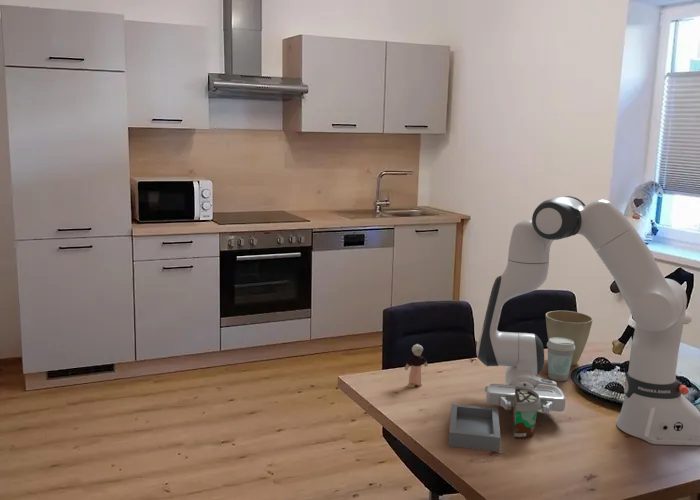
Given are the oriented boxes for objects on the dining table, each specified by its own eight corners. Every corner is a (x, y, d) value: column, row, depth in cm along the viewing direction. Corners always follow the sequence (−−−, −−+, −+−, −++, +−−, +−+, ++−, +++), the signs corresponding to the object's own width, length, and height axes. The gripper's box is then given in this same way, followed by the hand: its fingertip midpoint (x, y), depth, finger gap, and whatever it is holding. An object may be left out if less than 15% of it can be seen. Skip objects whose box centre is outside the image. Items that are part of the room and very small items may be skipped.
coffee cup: (542, 379, 211) (545, 342, 209) (545, 371, 219) (548, 335, 217) (571, 384, 208) (574, 346, 206) (573, 375, 216) (577, 339, 214)
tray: (496, 420, 179) (497, 408, 179) (499, 451, 162) (500, 437, 161) (450, 416, 181) (451, 403, 181) (448, 446, 164) (449, 432, 163)
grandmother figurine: (411, 389, 199) (413, 348, 197) (402, 385, 202) (404, 344, 200) (429, 384, 204) (431, 343, 202) (420, 380, 207) (422, 340, 205)
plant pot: (541, 353, 237) (545, 308, 234) (586, 358, 233) (591, 313, 231) (541, 366, 223) (545, 319, 220) (589, 372, 219) (594, 324, 216)
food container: (540, 444, 166) (543, 405, 164) (514, 441, 167) (517, 403, 166) (536, 424, 178) (539, 387, 176) (512, 421, 179) (515, 385, 178)
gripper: (485, 375, 188) (486, 393, 175) (562, 382, 185) (569, 401, 171) (484, 396, 189) (484, 416, 176) (560, 404, 186) (566, 424, 172)
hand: (527, 409), depth 174 cm, fingers open, 8 cm apart
